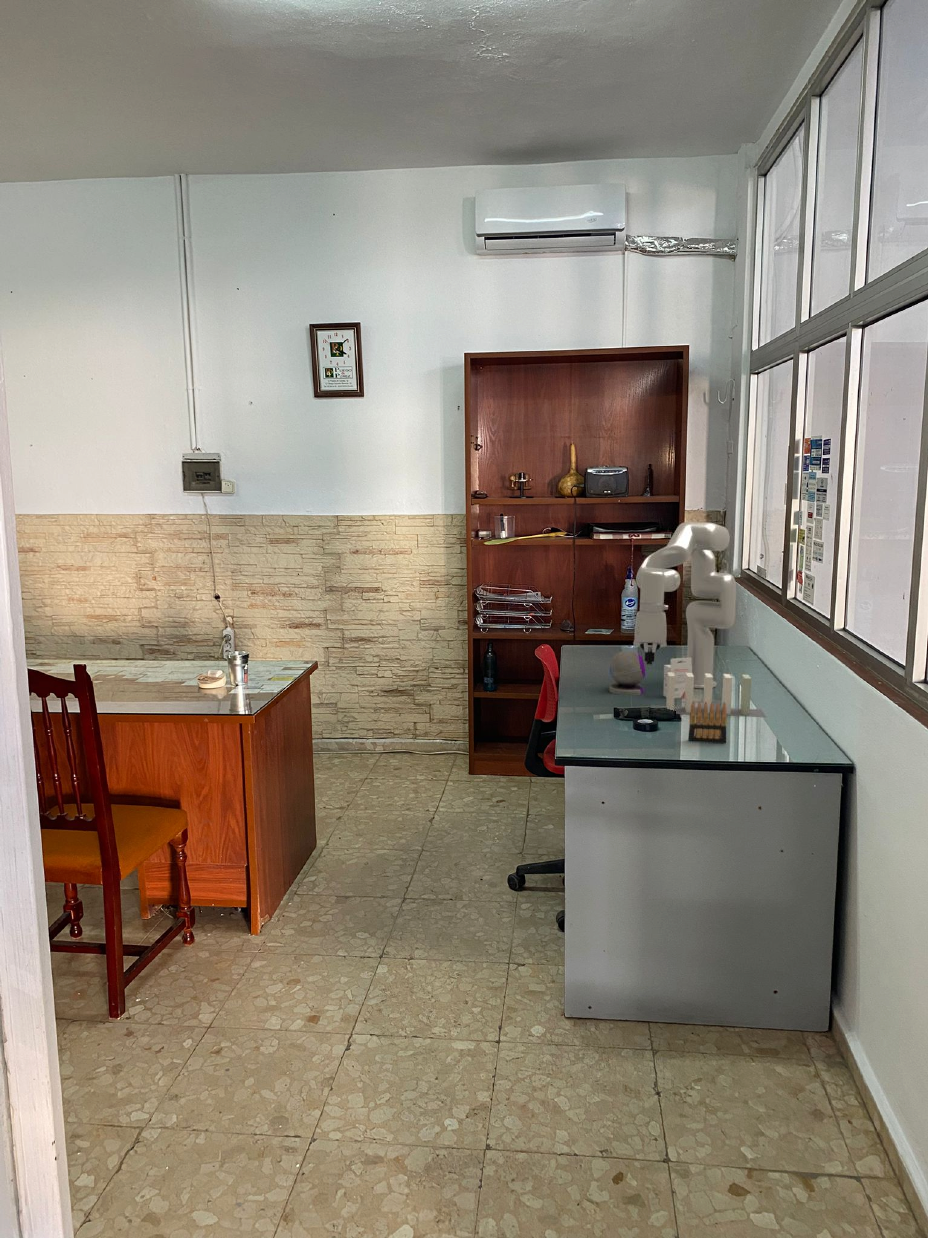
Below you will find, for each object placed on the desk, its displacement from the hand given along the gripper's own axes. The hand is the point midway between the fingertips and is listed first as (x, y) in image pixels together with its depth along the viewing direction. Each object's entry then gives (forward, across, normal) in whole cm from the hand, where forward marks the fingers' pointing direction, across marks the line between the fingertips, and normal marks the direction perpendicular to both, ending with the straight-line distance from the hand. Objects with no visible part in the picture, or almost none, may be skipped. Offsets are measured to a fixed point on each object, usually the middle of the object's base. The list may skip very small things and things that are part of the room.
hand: (649, 663), depth 298 cm
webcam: (+16, +6, -29) cm, 33 cm away
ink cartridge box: (+16, -11, -21) cm, 28 cm away
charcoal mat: (+16, -19, -1) cm, 25 cm away
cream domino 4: (+15, -25, -1) cm, 30 cm away
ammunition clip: (+17, -15, +33) cm, 40 cm away
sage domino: (+15, -31, -1) cm, 35 cm away
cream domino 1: (+15, -7, -1) cm, 17 cm away
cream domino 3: (+15, -19, -1) cm, 25 cm away
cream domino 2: (+15, -13, -1) cm, 20 cm away
